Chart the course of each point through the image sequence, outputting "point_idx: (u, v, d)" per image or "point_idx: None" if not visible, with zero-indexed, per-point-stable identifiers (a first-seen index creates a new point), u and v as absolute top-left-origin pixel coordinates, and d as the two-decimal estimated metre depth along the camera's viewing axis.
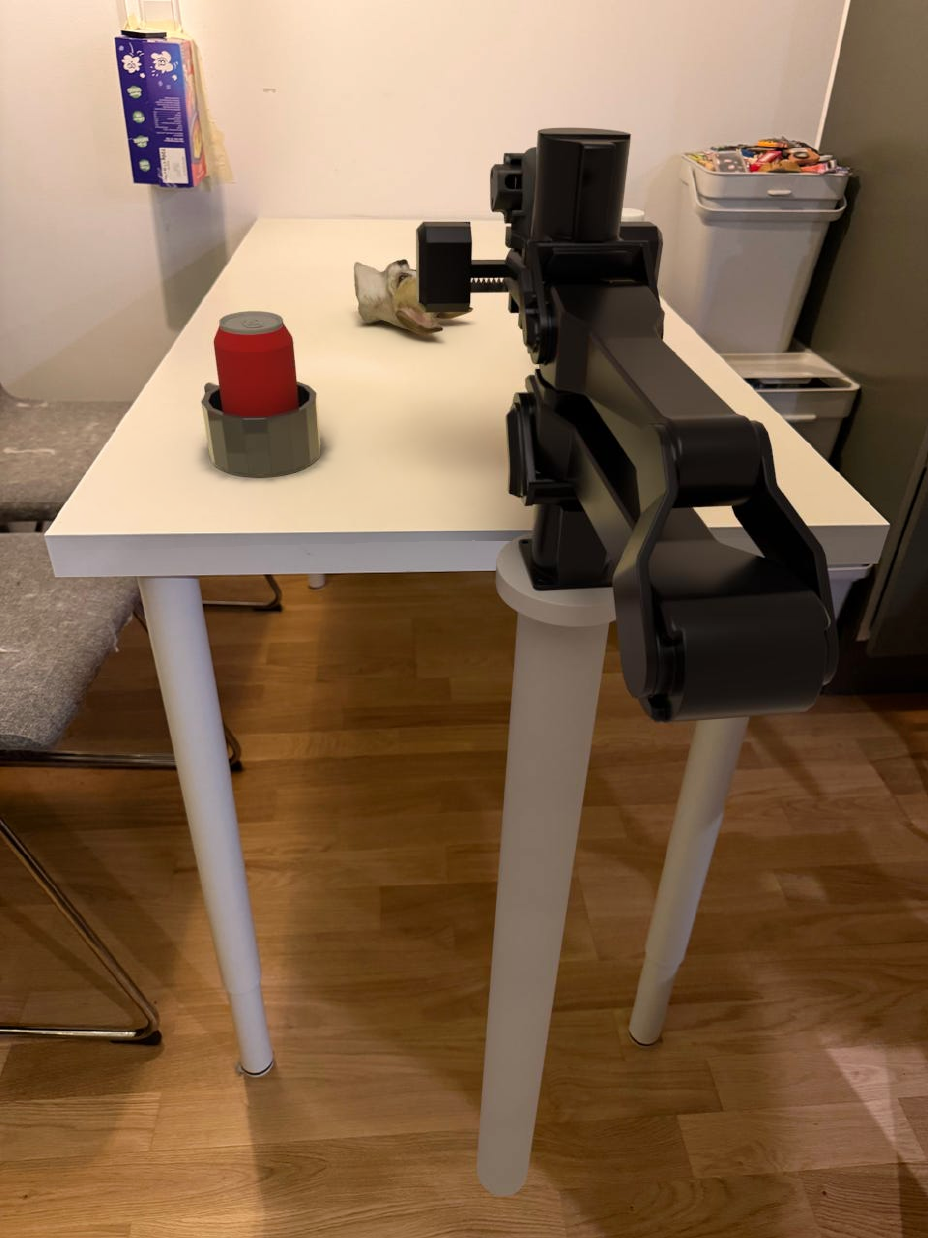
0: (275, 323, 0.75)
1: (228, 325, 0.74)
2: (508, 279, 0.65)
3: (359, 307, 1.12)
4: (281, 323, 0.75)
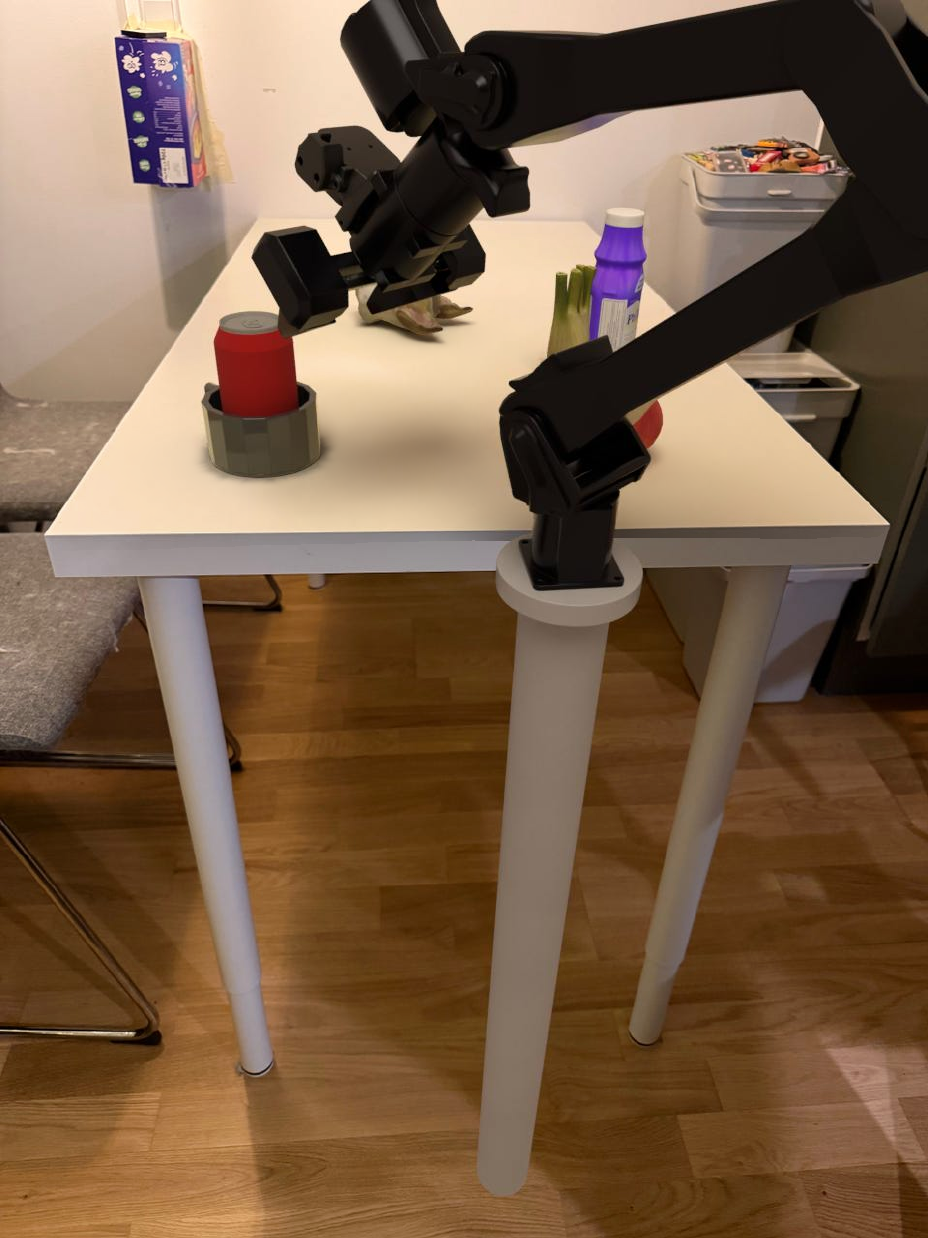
0: (275, 323, 0.75)
1: (228, 325, 0.74)
2: (371, 243, 0.60)
3: (359, 307, 1.12)
4: None
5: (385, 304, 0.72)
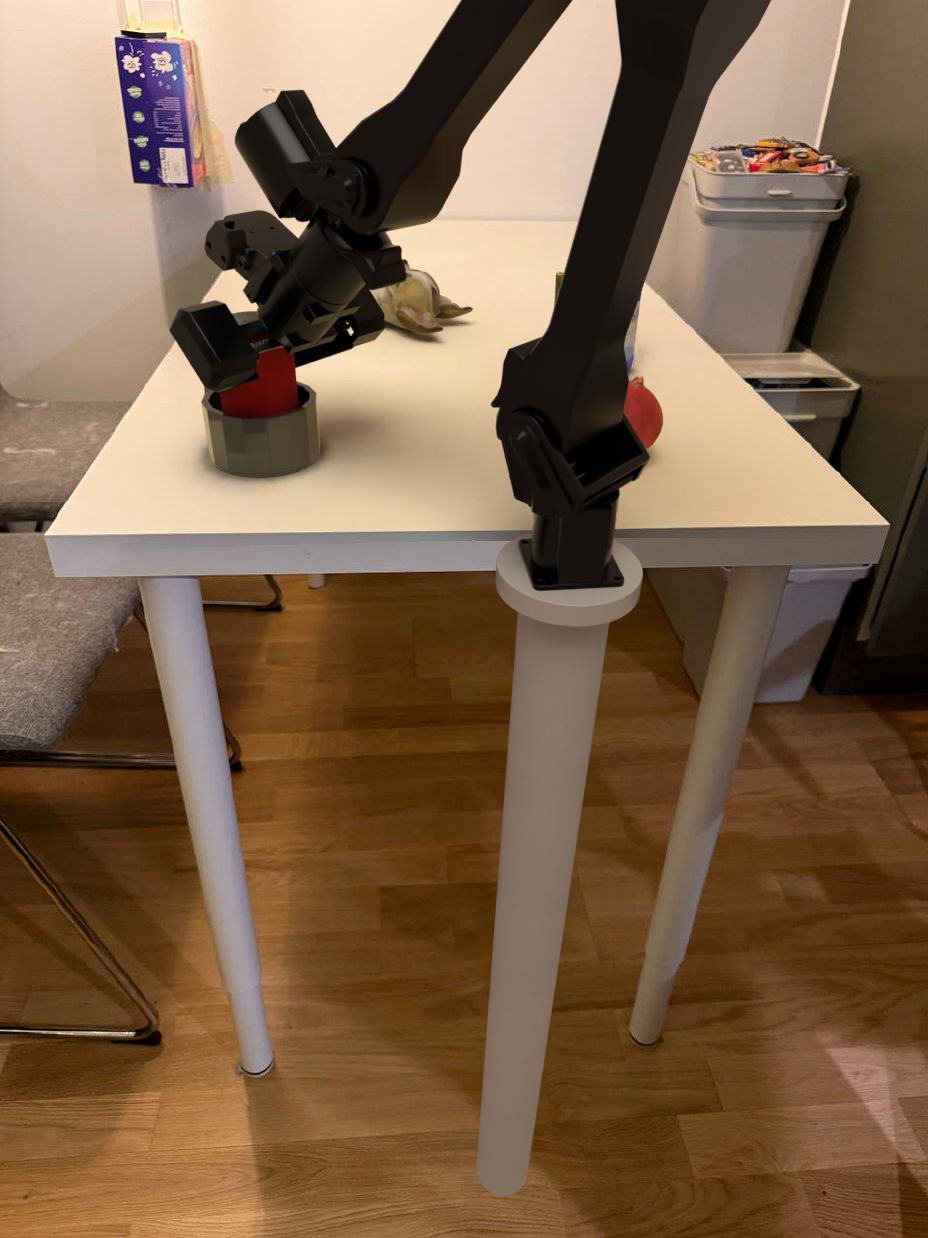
0: None
1: None
2: (274, 313, 0.68)
3: None
4: None
5: None
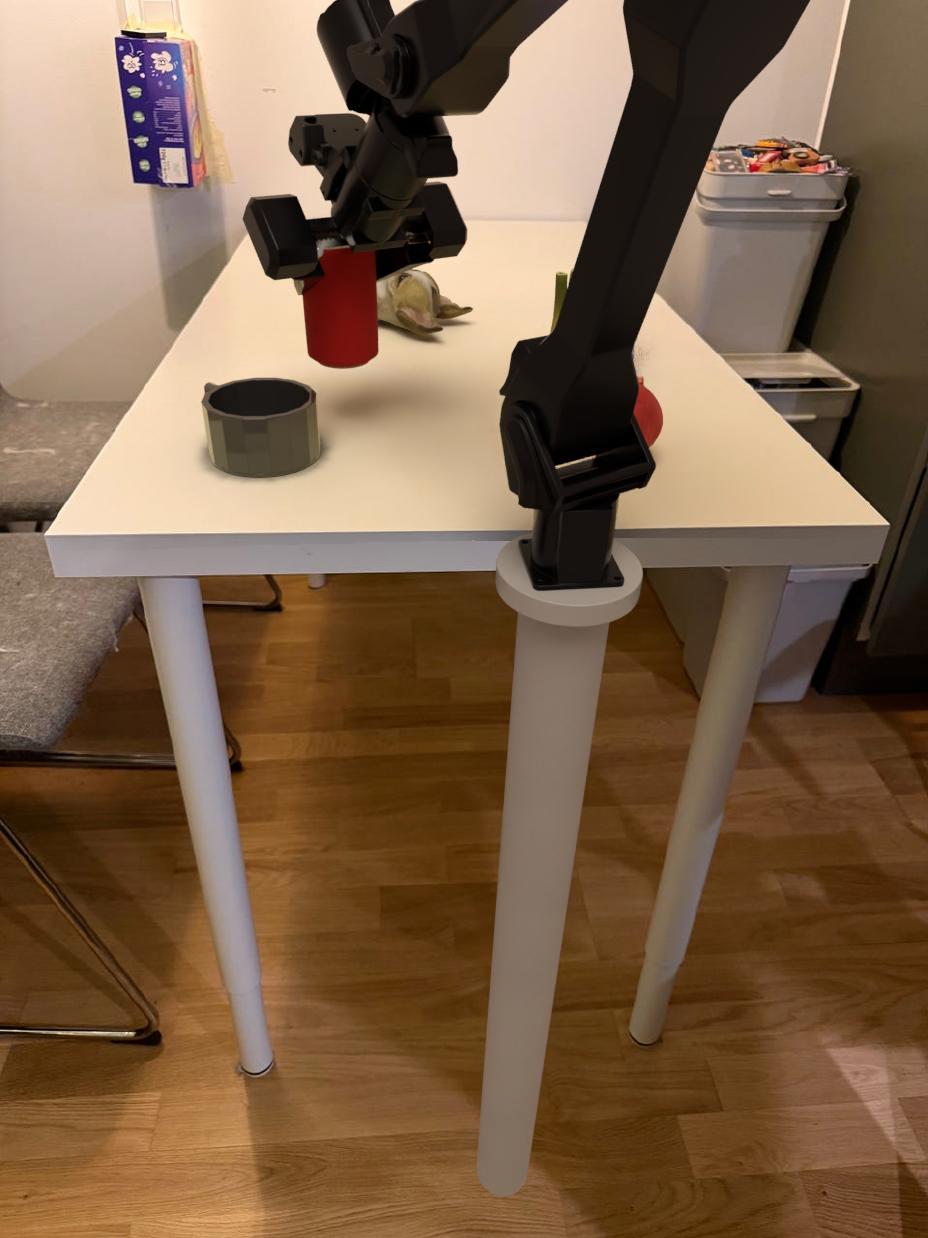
0: None
1: None
2: (341, 209, 0.70)
3: None
4: None
5: None
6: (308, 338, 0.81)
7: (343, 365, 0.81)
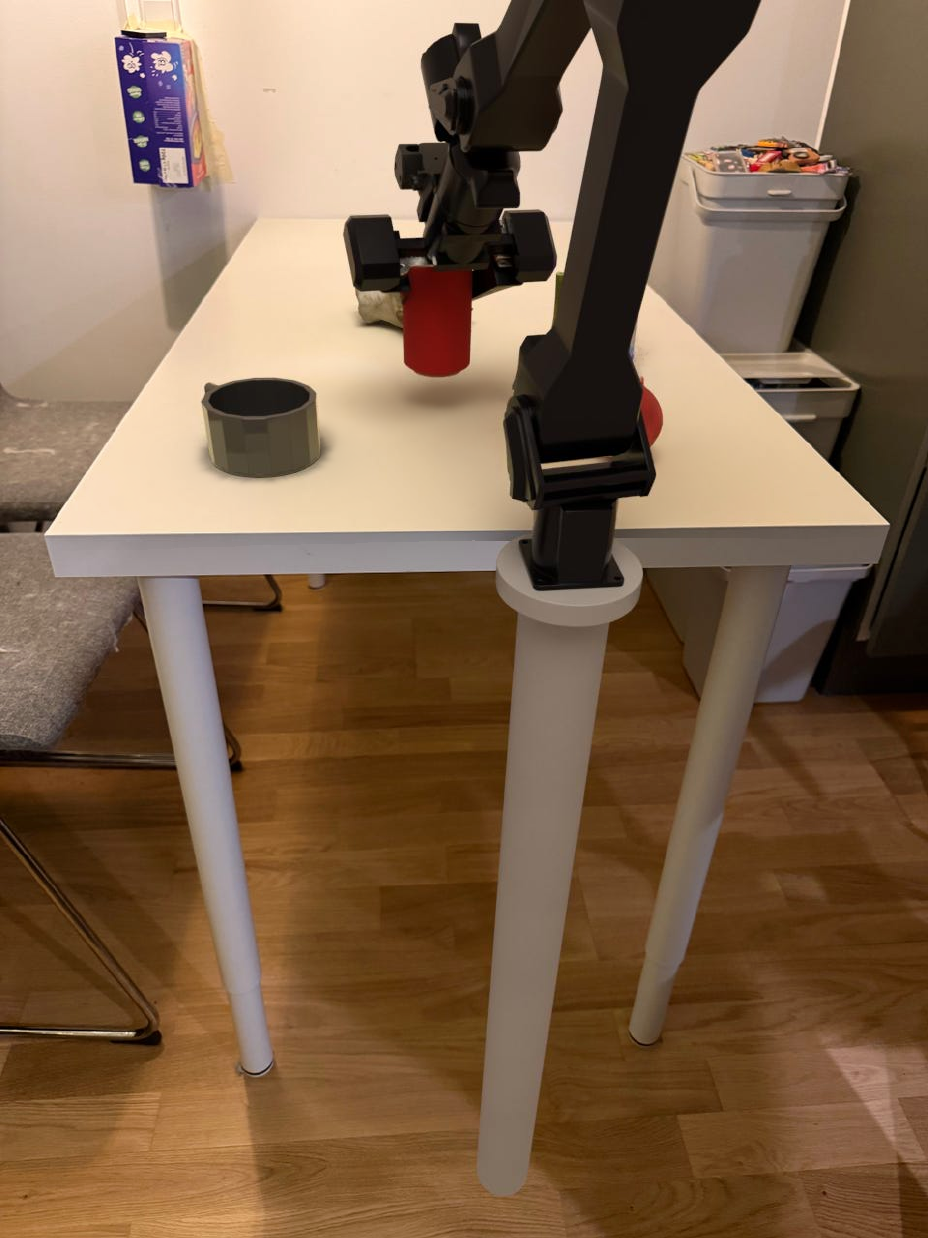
0: None
1: None
2: (428, 230, 0.75)
3: (359, 307, 1.12)
4: None
5: (472, 293, 0.86)
6: None
7: (431, 374, 0.87)
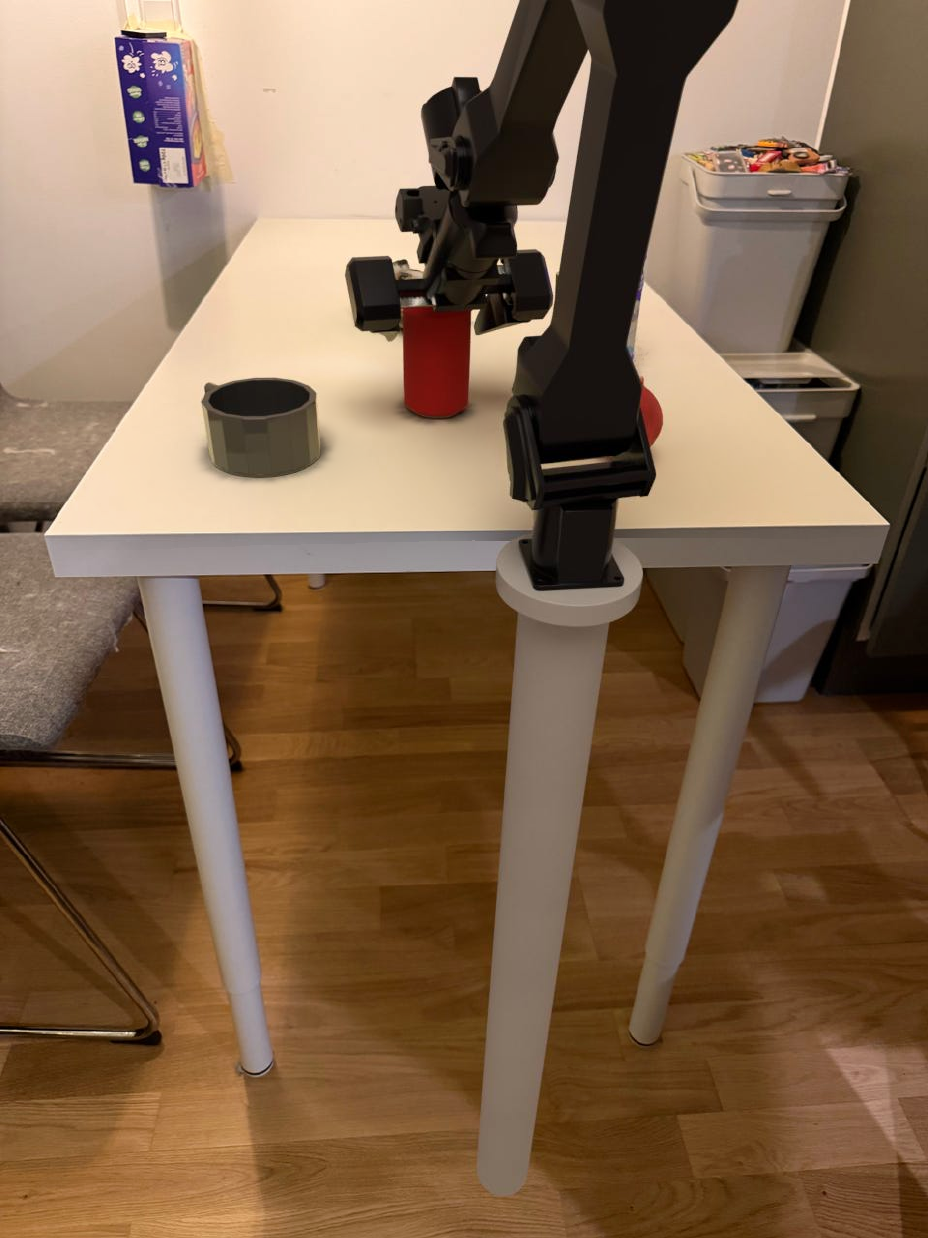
0: None
1: None
2: (427, 273, 0.77)
3: None
4: None
5: (481, 327, 0.88)
6: (404, 387, 0.90)
7: (430, 414, 0.89)
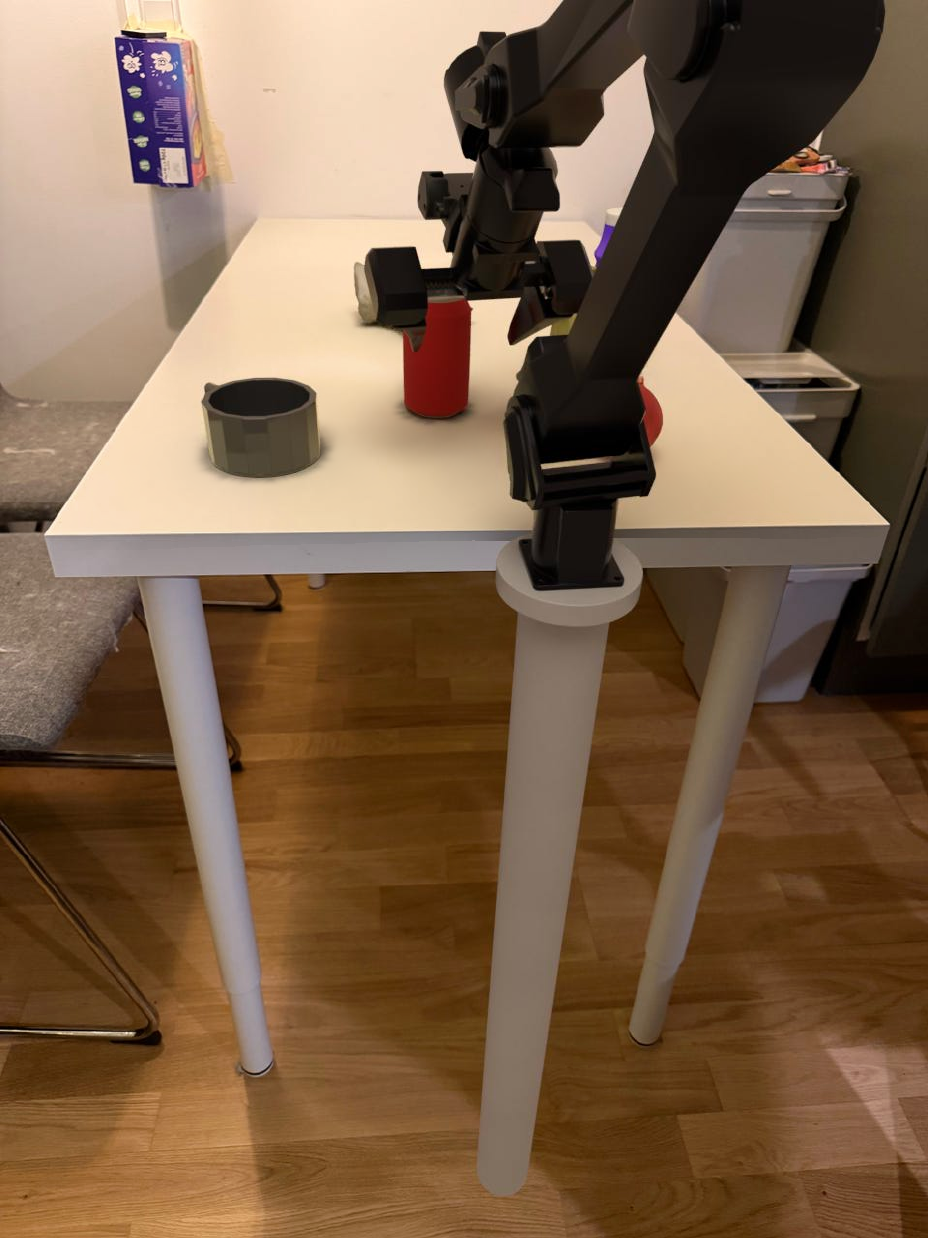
0: None
1: None
2: (456, 257, 0.69)
3: (359, 307, 1.12)
4: None
5: (516, 333, 0.79)
6: (404, 387, 0.90)
7: (430, 414, 0.89)
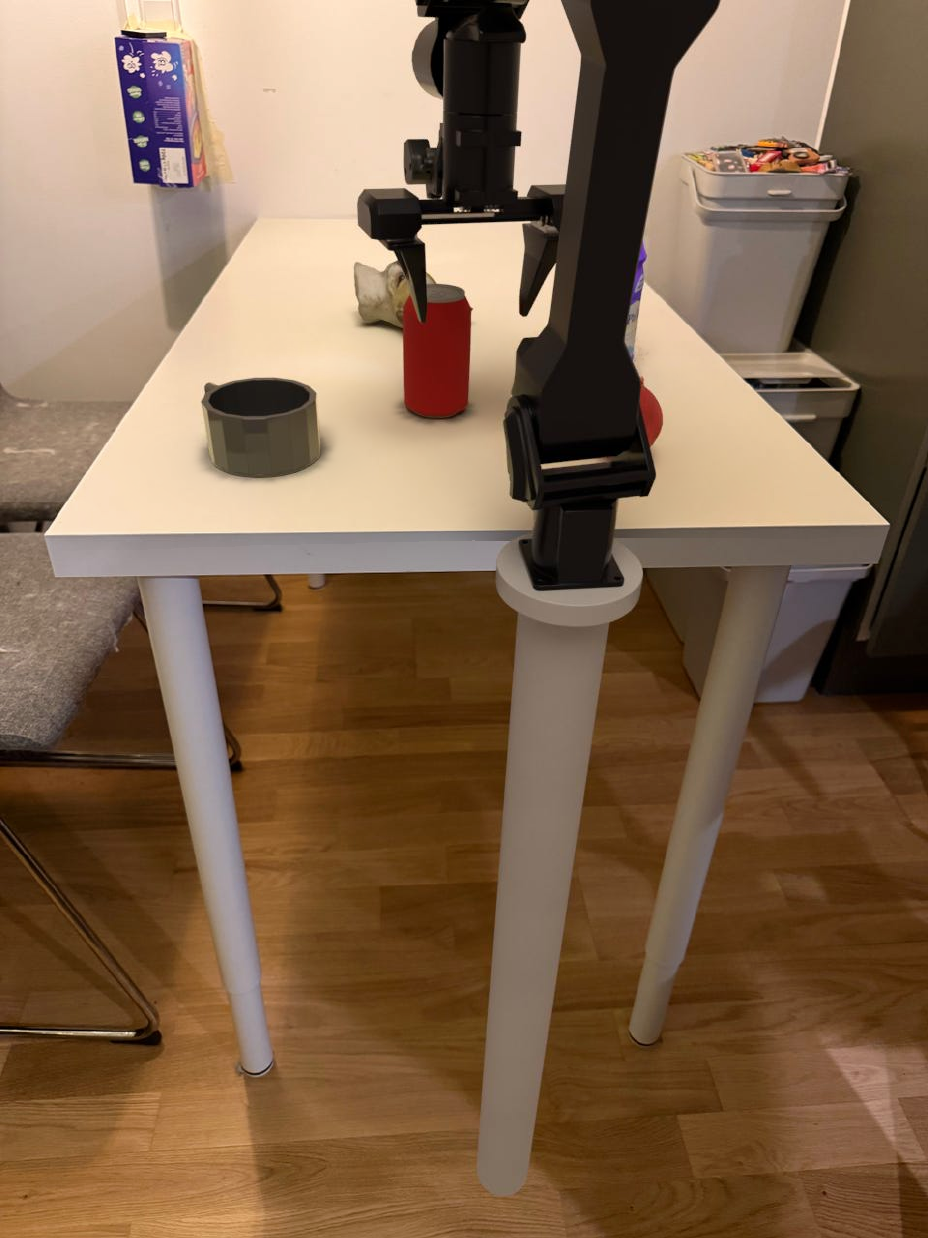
0: (454, 296, 0.84)
1: None
2: (444, 174, 0.69)
3: (359, 307, 1.12)
4: (457, 297, 0.84)
5: (526, 293, 0.76)
6: (404, 387, 0.90)
7: (430, 414, 0.89)
